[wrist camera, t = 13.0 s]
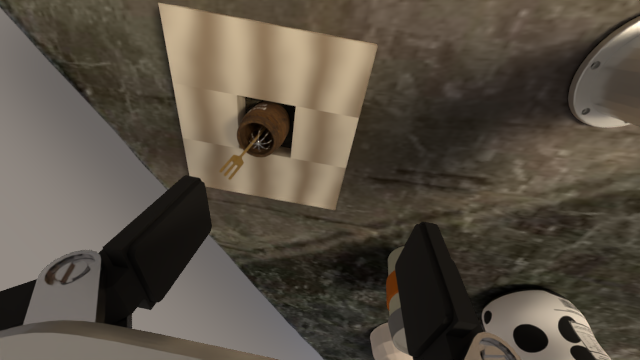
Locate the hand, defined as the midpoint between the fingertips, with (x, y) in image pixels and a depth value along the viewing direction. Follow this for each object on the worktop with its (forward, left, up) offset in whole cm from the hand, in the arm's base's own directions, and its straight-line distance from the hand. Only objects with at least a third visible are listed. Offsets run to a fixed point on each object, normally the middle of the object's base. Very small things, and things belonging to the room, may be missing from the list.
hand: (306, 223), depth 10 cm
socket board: (+8, +6, -25) cm, 27 cm away
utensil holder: (+8, +6, -25) cm, 27 cm away
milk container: (-50, +38, -25) cm, 68 cm away
